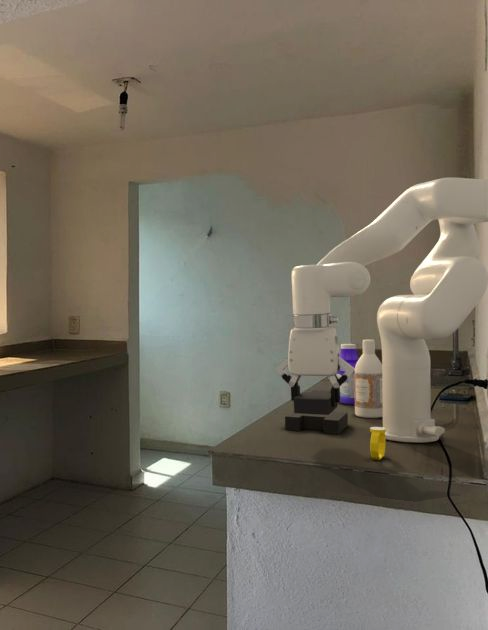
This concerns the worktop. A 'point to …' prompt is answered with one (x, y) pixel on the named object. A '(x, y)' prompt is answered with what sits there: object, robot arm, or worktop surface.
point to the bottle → (348, 386)
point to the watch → (377, 442)
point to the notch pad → (317, 422)
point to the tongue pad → (314, 403)
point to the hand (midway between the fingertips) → (315, 404)
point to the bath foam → (368, 383)
